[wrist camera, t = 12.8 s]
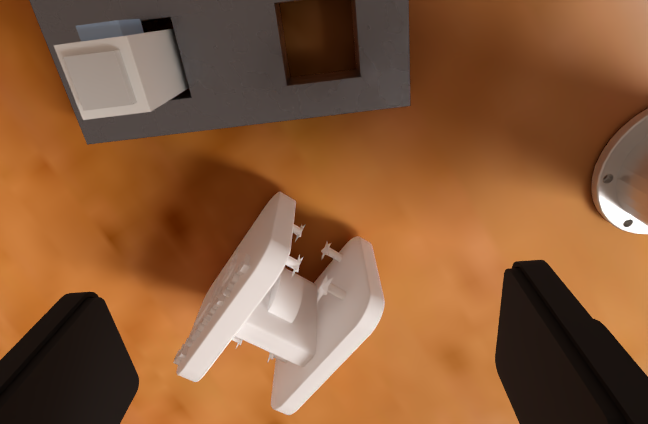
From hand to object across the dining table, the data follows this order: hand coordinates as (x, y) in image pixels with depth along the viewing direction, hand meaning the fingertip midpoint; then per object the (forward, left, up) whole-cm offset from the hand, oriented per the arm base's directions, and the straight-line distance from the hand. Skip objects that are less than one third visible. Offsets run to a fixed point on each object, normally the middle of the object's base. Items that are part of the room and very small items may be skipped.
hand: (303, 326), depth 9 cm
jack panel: (+5, -5, -26) cm, 27 cm away
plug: (+11, -4, -26) cm, 28 cm away
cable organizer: (+5, +15, -26) cm, 31 cm away
